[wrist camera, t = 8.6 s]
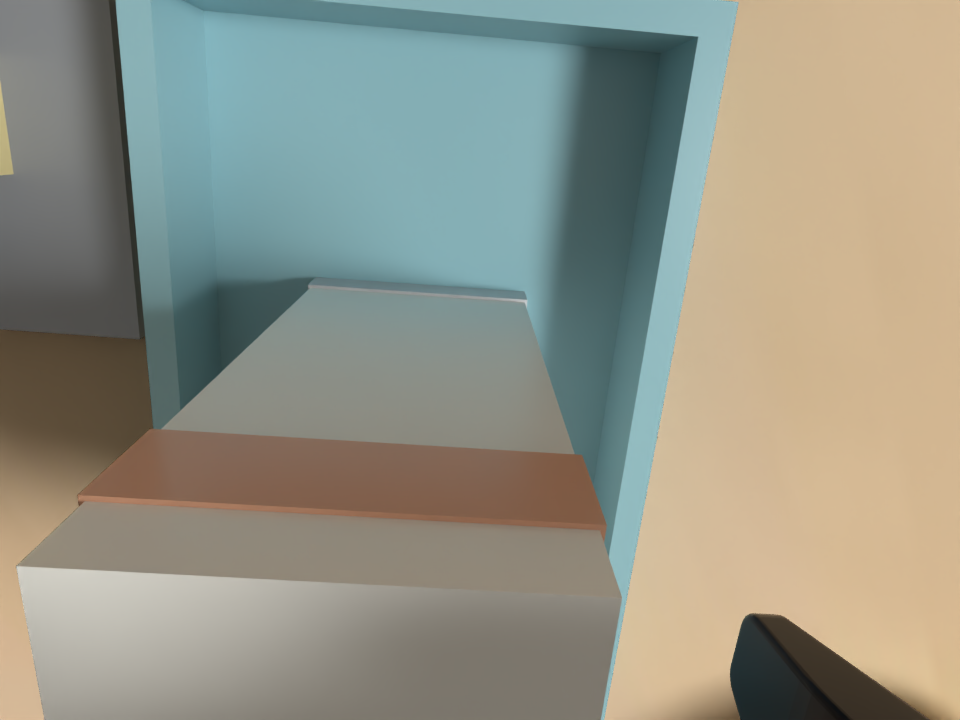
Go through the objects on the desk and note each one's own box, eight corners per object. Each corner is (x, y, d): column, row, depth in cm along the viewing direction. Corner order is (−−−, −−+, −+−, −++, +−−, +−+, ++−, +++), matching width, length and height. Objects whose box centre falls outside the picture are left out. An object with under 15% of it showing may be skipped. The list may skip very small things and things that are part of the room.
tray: (686, 28, 12) (738, 1, 9) (578, 678, 17) (595, 764, 14) (181, -20, 11) (110, -59, 9) (221, 659, 16) (181, 744, 14)
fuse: (524, 291, 13) (629, 591, 4) (502, 514, 15) (548, 1046, 6) (316, 277, 13) (7, 560, 4) (318, 504, 14) (96, 1036, 6)
